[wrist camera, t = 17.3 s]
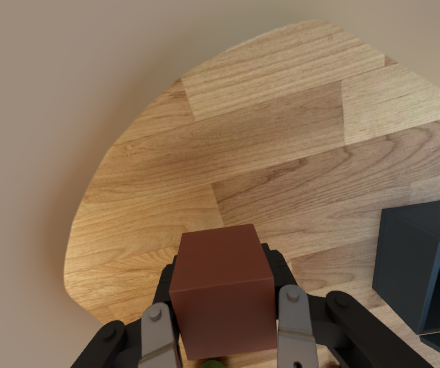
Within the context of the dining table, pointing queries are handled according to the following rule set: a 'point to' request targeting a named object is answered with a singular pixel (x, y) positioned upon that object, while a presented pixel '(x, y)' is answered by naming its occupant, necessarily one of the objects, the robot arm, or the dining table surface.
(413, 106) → the dining table surface
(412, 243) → the chest
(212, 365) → the avocado
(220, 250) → the block
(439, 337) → the lid
